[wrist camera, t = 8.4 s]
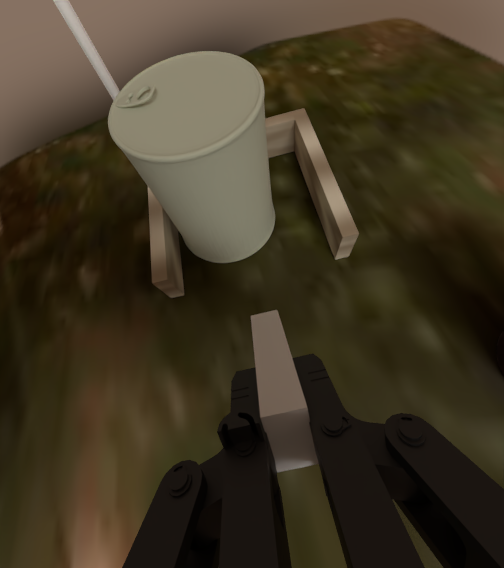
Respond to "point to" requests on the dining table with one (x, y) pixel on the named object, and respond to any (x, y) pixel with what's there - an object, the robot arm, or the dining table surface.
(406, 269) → the dining table surface
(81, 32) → the flag pin
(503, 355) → the coffee mug
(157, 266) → the wooden u-shaped frame
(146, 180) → the can
